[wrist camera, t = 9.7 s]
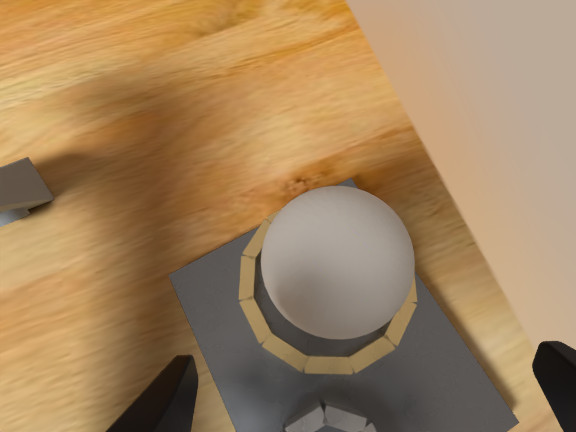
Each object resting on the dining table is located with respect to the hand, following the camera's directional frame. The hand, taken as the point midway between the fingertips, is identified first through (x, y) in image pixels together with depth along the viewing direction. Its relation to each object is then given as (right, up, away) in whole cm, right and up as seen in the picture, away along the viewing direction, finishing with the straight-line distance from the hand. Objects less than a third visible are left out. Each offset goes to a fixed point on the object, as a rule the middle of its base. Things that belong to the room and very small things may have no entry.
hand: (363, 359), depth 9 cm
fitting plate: (0, -4, +11) cm, 12 cm away
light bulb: (0, 0, +11) cm, 11 cm away
